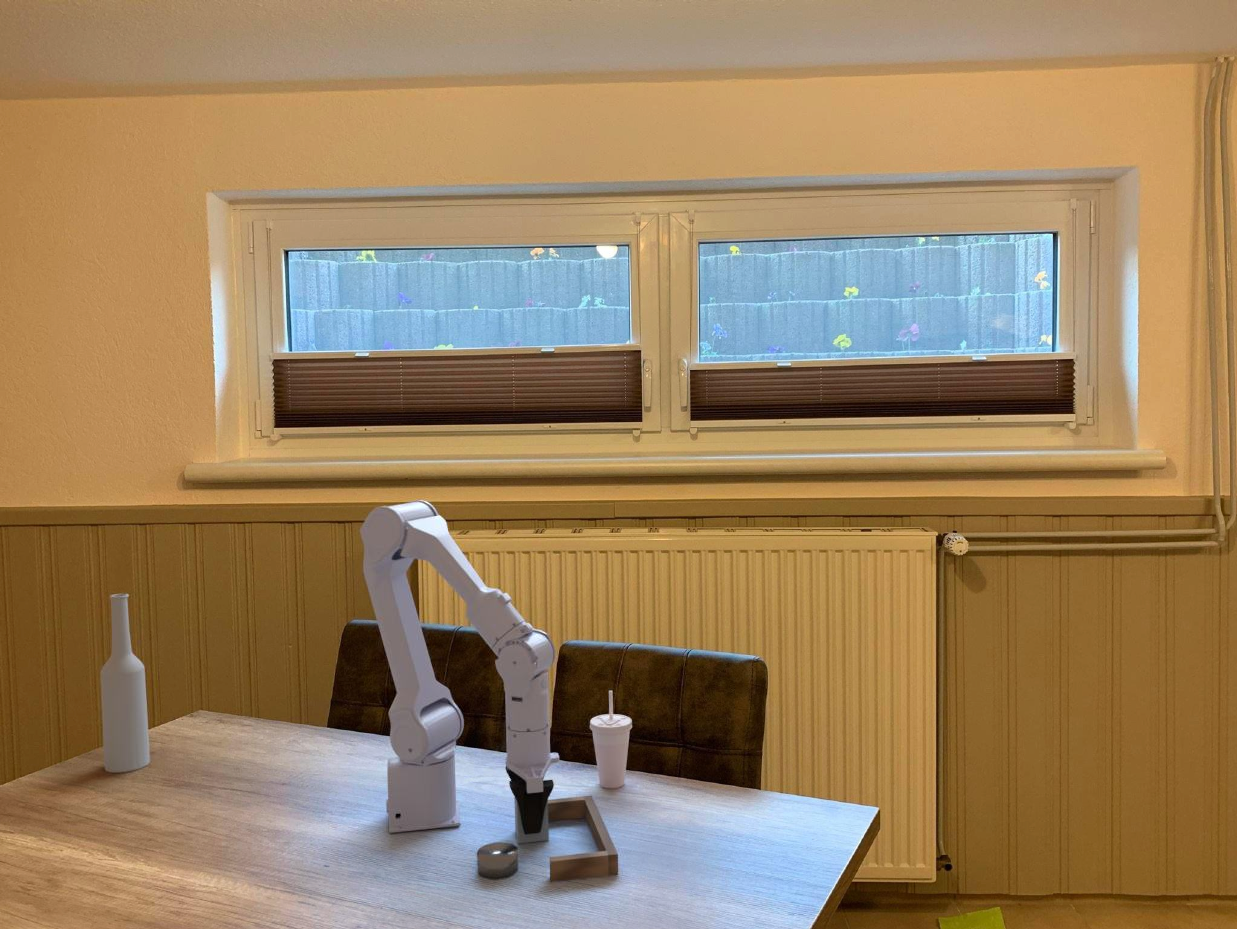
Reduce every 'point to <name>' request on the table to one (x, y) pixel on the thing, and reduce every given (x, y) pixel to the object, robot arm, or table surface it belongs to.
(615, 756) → the smoothie
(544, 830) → the grey block
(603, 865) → the walnut bay
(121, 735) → the bottle
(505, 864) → the grey puck
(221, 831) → the table surface
